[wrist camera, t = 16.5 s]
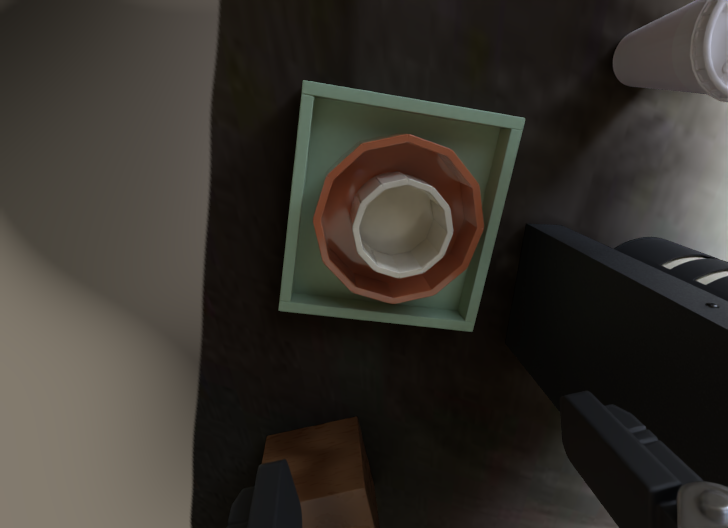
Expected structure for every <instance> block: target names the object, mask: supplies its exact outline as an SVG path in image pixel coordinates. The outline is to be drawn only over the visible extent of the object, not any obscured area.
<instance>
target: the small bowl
mask: <svg viewBox="0 0 728 528" xmlns="http://www.w3.org/2000/svg"><path fill="white" fill-rule="evenodd" d="M349 218H350V222H351V227H352V232H353V237H354V241H355V245H356V250H357V252H358V254H359V255H360V257H361V258H362V259H363V260H364V261H365V262H366V263H367V264H368V265H369V266H370V267H371V268H372V269H373V270H374V271H375V272H378V273H381V274H385V275H388V276H391V277H395V278H404V277H409V276H414V275H418V274H423V272H424V273H425V272H426V271H427V270H428V269H430V268H431V267H432V266H433V265H434V264H436V263H437V262H438V261H439V260H440V259H442V258H443V256H444V255H445V253H446V250H447V248H448V245H449V243H450V240H451V238H452V235H453V233H452V232H453V224H452V217H451V210H450V207H449V205H448V204H447V203H446V201H445V200H444V199H443V198H442V196H441V195H440V194H439V193H438V192H437V190H436V189H435V188H434V187H432V186H431V185H429V184H428V183H426V182H425V181H423V180H422V179H420V178H417V177H414V176H412V175H410V174H407V173H403V172H400V171H399V172H398V171H396V172H387V173H383V174H379V175H377V176H375V177H373V178H371V179H370V180H368V181H367V182H366V183H365V184H364V185H363V186H362V187H361V188H360V189H359V190H358V191H357V193H356V195H355V197H354V199H353V202H352V205H351V210H350V213H349Z"/></svg>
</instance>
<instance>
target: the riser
mask: <svg viewBox="0 0 728 528" xmlns="http://www.w3.org/2000/svg"><path fill="white" fill-rule="evenodd" d="M283 459H286V461H287V463H288V465H289V468H290V472H291V475H292V478H293V481H294V484H295V488H296V491H297V494H298V497H299V501H300V505H301V511H302V528H380V525H379V517H378V509H377V502H376V494H375V487H374V483H373V479H372V474H371V470H370V466H369V462H368V458H367V454H366V450H365V445H364V441H363V437H362V433H361V429H360V425H359V421H358V417H357V416H356V417H352V418H347V419H342V420H338V421H333V422H329V423H324V424H319V425H315V426H310V427H306V428H301V429H297V430H292V431H287V432H283V433H278V434H274V435H269V436H267V438H266V443H265V449H264V454H263V459H262V464H265V463H270V462H274V461H279V460H283Z"/></svg>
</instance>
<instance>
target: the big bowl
mask: <svg viewBox="0 0 728 528" xmlns="http://www.w3.org/2000/svg"><path fill="white" fill-rule="evenodd" d="M396 171H398V172H399V171H400V172H403V173H407V174H410V175H412V176H414V177H417V178H420V179H422V180H423V181H425V182H426V183H428V184H429V185H431V186H432V187H434V188H435V189H436V190H437V192H438V193H439V194H440V195H441V196H442V198H443V199H444V200H445V201H446V203H447V204H448V205H449V207H450V210H451V217H452V224H453V232H452V233H453V235H452V238H451V240H450V243H449V245H448V248H447V250H446V253H445V255H444V256H443V258H442V259H440V260H439V261H438V262H437V263H436V264H434V265H433V266H432V267H431V268H430V269H428V270H427V271H426V272H425V273H424V272H423V274H418V275H414V276H409V277H404V278H395V277H391V276H388V275H385V274H381V273H378V272H375V271H374V270H373V269H372V268H371V267H370V266H369V265H368V264H367V263H366V262H365V261H364V260H363V259H362V258H361V257H360V255H359V254H358V252H357V250H356V245H355V241H354V237H353V232H352V227H351V222H350V218H349V213H350V210H351V205H352V202H353V199H354V197H355V195H356V193H357V191H358V190H359V189H360V188H361V187H362V186H363V185H364V184H365V183H366V182H367V181H368V180H370V179H371V178H373V177H375V176H377V175H379V174H383V173H387V172H396ZM313 224H314V228H315V233H316V237H317V241H318V245H319V249H320V254H321V258H322V262H323V263H324V264H325V265H326V266H327V267H328V269H329V270H330V271H331V272H332V273H333V274H334V275H335V276H336V277H337V278H338V279H339V280H340V281H341V282H342V283H343V284H344V285H345V286H346V287H347V288H348V289H349V290H350V291H351V292H353V293H354V294H358V295H361V296H365V297H368V298H372V299H375V300H379V301H382V302H386V303H389V304H397V303H402V302H406V301H411V300H416V299H420V298H425V297H430V296H434V295H436V294H437V293H438V292H439V291H440V290H442V289H443V288H444V287H445V286H447V285H448V284H449V283H450V282H451V281H453V280H454V279H455V278H456V277H457V276H459V275H460V274H461V273H462V272H464V271H465V270H466V269H467V268H468V266H469V263H470V261H471V259H472V256H473V254H474V252H475V249H476V247H477V244H478V242H479V240H480V237H481V235H482V233H483V230H484V220H483V211H482V203H481V194H480V186H479V183H478V182H477V181H476V179H475V178H474V177H473V176H472V174H471V173H470V172H469V170H468V169H467V168H466V167H465V165H464V164H463V163H462V162H461V160H460V159H459V158H458V156H457V155H456V154H455V153H454V151H453V150H451V149H450V148H447V147H444V146H442V145H439V144H436V143H433V142H430V141H428V140H425V139H422V138H419V137H416V136H414V135H411V134H407V133H395V134H390V135H385V136H378V137H375V138H371V139H366V140H361V141H359V142H357V143H356V144H355V145H354V146H353V147H351V148H350V149H349V150H348V151H347V152H345V153H344V154H343V155H342V156H341V157H340V158H339V159H338V160H337V161H336V162H335V163H334V164H333V165H332V166H331V167H330V168H328V169H327V171H326V173H325V176H324V179H323V183H322V186H321V188H320V192H319V195H318V199H317V202H316V205H315V208H314V214H313Z"/></svg>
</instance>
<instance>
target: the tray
mask: <svg viewBox="0 0 728 528" xmlns="http://www.w3.org/2000/svg"><path fill="white" fill-rule="evenodd" d="M524 123H525V118H522V117H516V116H510V115H505V114H499V113H493V112H487V111H481V110H475V109H470V108H464V107H458V106H452V105H446V104H440V103H434V102H429V101H423V100H417V99H411V98H405V97H399V96H393V95H388V94H382V93H376V92H370V91H364V90H358V89H353V88H347V87H341V86H335V85H329V84H323V83H317V82H312V81H306V80H303V83H302V95H301V103H300V112H299V121H298V131H297V140H296V150H295V159H294V168H293V178H292V187H291V197H290V206H289V216H288V225H287V234H286V244H285V253H284V263H283V272H282V281H281V291H280V301H279V311H284V312H293V313H303V314H312V315H321V316H330V317H340V318H349V319H358V320H367V321H377V322H386V323H395V324H404V325H414V326H423V327H432V328H441V329H451V330H460V331H469V332H473V328H474V324H475V320H476V316H477V312H478V308H479V304H480V300H481V296H482V292H483V288H484V284H485V280H486V276H487V272H488V268H489V264H490V260H491V256H492V252H493V248H494V244H495V240H496V236H497V231H498V227H499V223H500V219H501V215H502V211H503V207H504V203H505V199H506V195H507V191H508V187H509V183H510V179H511V175H512V171H513V167H514V163H515V159H516V155H517V151H518V147H519V143H520V139H521V135H522V130H523V127H524ZM395 133H407V134H411V135H414V136H416V137H419V138H422V139H425V140H428V141H430V142H433V143H436V144H439V145H442V146H444V147H447V148H450V149H451V150H453V151H454V153H455V154H456V155H457V156H458V158H459V159H460V160H461V162H462V163H463V164H464V165H465V167H466V168H467V169H468V170H469V172H470V173H471V174H472V176H473V177H474V178H475V179H476V181H477V182H478V183H479V186H480V194H481V203H482V211H483V220H484V230H483V233H482V235H481V237H480V240H479V242H478V244H477V247H476V249H475V252H474V254H473V256H472V259H471V261H470V263H469V266H468V268H467V269H466V270H465V271H464V272H462V273H461V274H460V275H459V276H457V277H456V278H455V279H454V280H453V281H451V282H450V283H449V284H448V285H447V286H445V287H444V288H443V289H442V290H440V291H439V292H438V293H437V294H436V295H434V296H430V297H425V298H420V299H416V300H411V301H406V302H402V303H397V304H389V303H386V302H382V301H379V300H375V299H372V298H368V297H365V296H361V295H358V294H354V293H353V292H351V291H350V290H349V289H348V288H347V287H346V286H345V285H344V284H343V283H342V282H341V281H340V280H339V279H338V278H337V277H336V276H335V275H334V274H333V273H332V272H331V271H330V270H329V269H328V267H327V266H326V265H325V264H324V263H323V262H322V258H321V254H320V249H319V245H318V241H317V237H316V233H315V228H314V224H313V214H314V208H315V205H316V202H317V199H318V195H319V192H320V188H321V186H322V183H323V179H324V176H325V173H326V171H327V169H328V168H330V167H331V166H332V165H333V164H334V163H335V162H336V161H337V160H338V159H339V158H340V157H341V156H342V155H343V154H344V153H345V152H347V151H348V150H349V149H350V148H351V147H353V146H354V145H355V144H356V143H357V142H359V141H361V140H366V139H371V138H375V137H378V136H385V135H390V134H395Z"/></svg>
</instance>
